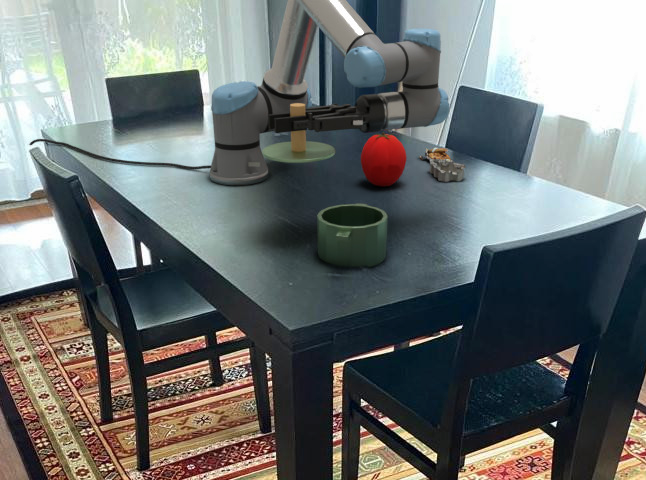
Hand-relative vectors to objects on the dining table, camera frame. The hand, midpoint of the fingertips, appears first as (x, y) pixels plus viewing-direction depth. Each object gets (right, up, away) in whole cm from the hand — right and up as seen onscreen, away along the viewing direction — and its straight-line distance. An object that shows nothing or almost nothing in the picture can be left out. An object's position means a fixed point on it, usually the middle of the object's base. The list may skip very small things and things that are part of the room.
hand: (272, 123), depth 150 cm
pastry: (+42, +7, +63) cm, 76 cm away
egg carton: (+42, +1, +51) cm, 66 cm away
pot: (+16, -26, +3) cm, 30 cm away
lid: (+5, -5, +5) cm, 8 cm away
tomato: (+25, -3, +45) cm, 51 cm away
